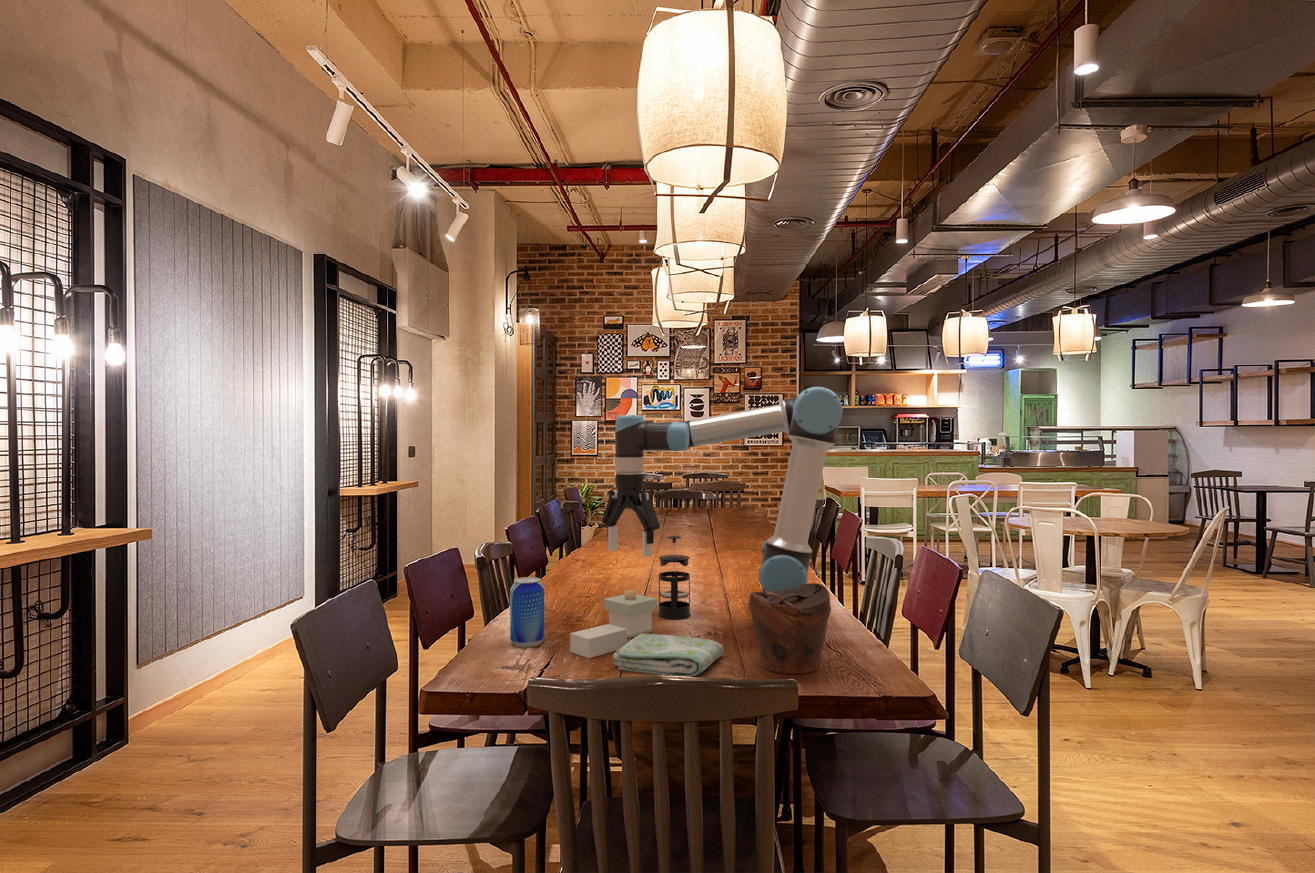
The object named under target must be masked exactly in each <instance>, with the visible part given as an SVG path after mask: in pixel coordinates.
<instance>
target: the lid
mask: <svg viewBox="0 0 1315 873" xmlns="http://www.w3.org/2000/svg"><path fill="white" fill-rule="evenodd" d="M603 610H604V611H608V612H609V611H611V612H615V613H619V614H623V615H627V616H632V615H636V614H640V613H644V612H648V611H652V612H653V611H655V610H656V611H657V610H658V598H655V597H651V596H647V595H642V594H638V593H637V591H636V590H635V589H634V590H633V589H626V590H624V594H620V595H617V596H612V597H606V598H604V599H603Z"/></svg>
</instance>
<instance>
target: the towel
mask: <svg viewBox="0 0 1315 873" xmlns="http://www.w3.org/2000/svg"><path fill="white" fill-rule="evenodd" d="M724 651H725V648H724V646H723V645H722V644H721V643H720V642H718V641H715V640H712V639H709V638H702V637H689V636H688V637H687V636H680V635H670V634H669V635H668V634H656V633H655V634H654V633H646V634H640V635H638V636H636V637H633V638H631V639H630V640H629V641H627V644H626V645H625V646H623V647H622V648H620V649H619V650H616V651H614V653H613V654H612V660H614V661H613V664H614V666H617V669H618V670H621V671H627V672H635V673H642V674H643V673H644V674H650V675H659V676H660V675H661V676H665V675H672V676H671V677H674V676H693V677H696V676H698V675H699V674H701V673H703V672H704V671H705V670H706V669H708V668H709V667H710V666H711V665H712V664H713V663H714V662H715V661H717V660H718V659H719V658H721V657H722V656H723V654H724Z"/></svg>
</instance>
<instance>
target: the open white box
mask: <svg viewBox="0 0 1315 873" xmlns="http://www.w3.org/2000/svg"><path fill="white" fill-rule="evenodd" d="M652 613H653V610H652V611H648V612H644V613H640V614H636V615H632V616H627V615H623V614H619V613H615V612H611V611H608V624H610V625H614V626H617V627H621V628H625V629H627V639H633V638H635V637H636V636H638V635H640V634H651V633H653V618H652V617H653V614H652Z"/></svg>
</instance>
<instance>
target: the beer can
mask: <svg viewBox="0 0 1315 873" xmlns="http://www.w3.org/2000/svg"><path fill="white" fill-rule="evenodd" d="M509 609H510V610H509V615H510V616H509V622H510V624H509V628H510V629H509V634H510V635H509V636H510V641H511V643H512V644H513V646H514V647H517V648H533V647H537V646H540V645H541V644H542V642H543V641H544V639H545V587H544V585H543V584H542V582H541V578H540V577H533V576H525V577H523V576H522V577H517V578H514V580H513V584H512V585H511V587H510V590H509Z"/></svg>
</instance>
